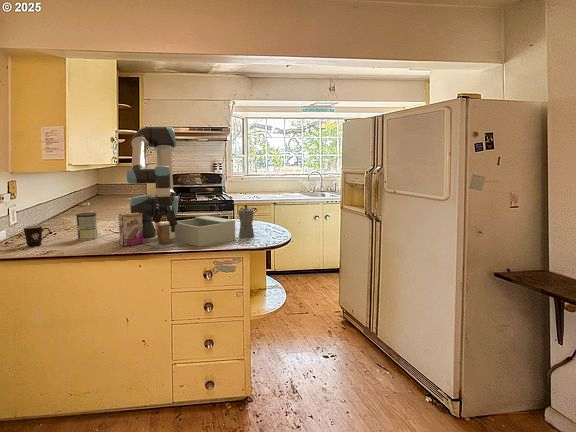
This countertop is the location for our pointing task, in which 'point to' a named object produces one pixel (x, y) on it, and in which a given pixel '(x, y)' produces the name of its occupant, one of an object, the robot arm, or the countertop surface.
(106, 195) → the countertop surface
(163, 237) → the walnut block
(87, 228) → the coffee can
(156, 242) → the pad
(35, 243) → the coffee mug
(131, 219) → the candy bar box
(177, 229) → the crate
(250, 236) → the coffeepot
